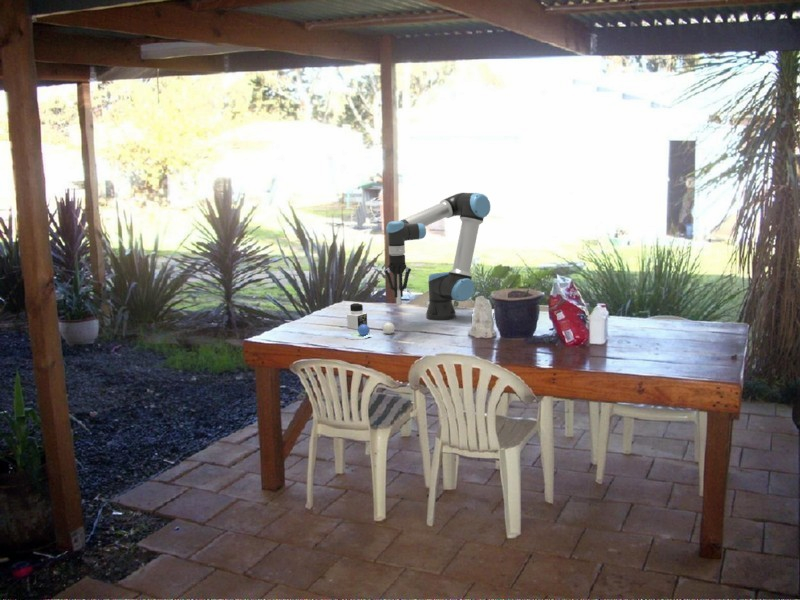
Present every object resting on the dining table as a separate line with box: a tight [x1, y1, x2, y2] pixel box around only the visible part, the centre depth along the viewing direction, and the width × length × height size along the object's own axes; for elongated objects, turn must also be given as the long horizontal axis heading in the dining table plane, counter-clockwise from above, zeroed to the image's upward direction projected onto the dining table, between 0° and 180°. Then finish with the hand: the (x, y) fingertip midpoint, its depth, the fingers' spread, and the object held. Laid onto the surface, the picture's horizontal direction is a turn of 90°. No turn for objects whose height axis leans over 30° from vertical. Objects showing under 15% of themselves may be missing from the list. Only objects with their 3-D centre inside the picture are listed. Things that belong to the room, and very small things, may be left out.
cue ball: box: [382, 321, 395, 335], centre depth 386 cm, size 6×6×6 cm
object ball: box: [357, 324, 370, 336], centre depth 384 cm, size 6×6×6 cm
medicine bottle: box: [346, 302, 368, 330], centre depth 401 cm, size 7×7×12 cm
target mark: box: [349, 332, 371, 340], centre depth 384 cm, size 14×14×1 cm
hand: (398, 303), depth 385 cm, fingers closed
